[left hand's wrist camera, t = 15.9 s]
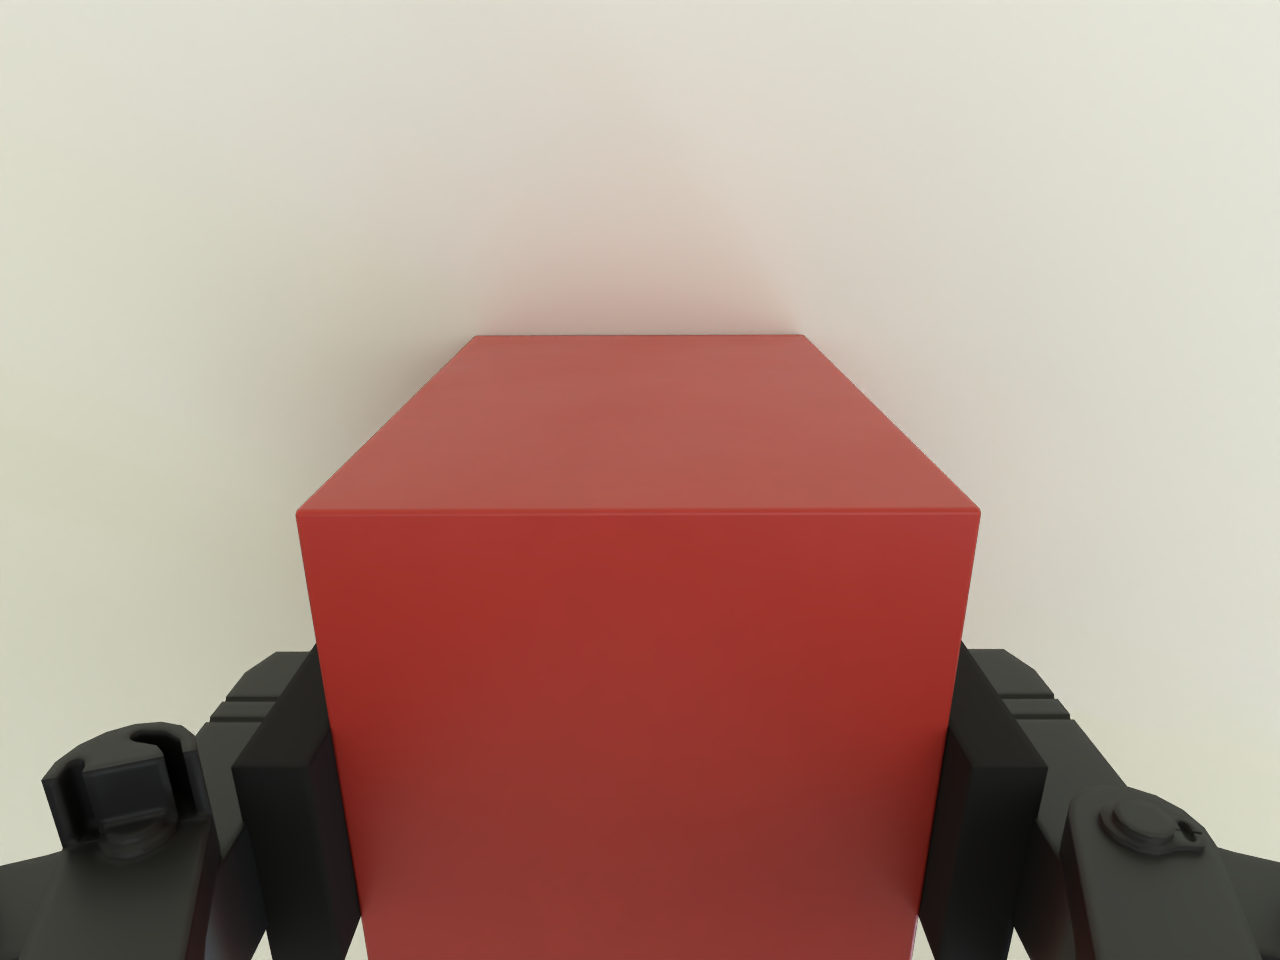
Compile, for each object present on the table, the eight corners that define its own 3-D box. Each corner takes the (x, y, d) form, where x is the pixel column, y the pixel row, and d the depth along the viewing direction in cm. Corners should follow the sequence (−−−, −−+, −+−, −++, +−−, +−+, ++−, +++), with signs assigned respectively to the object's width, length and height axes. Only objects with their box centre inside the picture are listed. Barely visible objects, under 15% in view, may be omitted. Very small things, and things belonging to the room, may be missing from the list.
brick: (782, 662, 19) (897, 1059, 10) (498, 663, 19) (383, 1060, 10) (804, 334, 16) (983, 508, 8) (473, 335, 16) (291, 511, 8)
